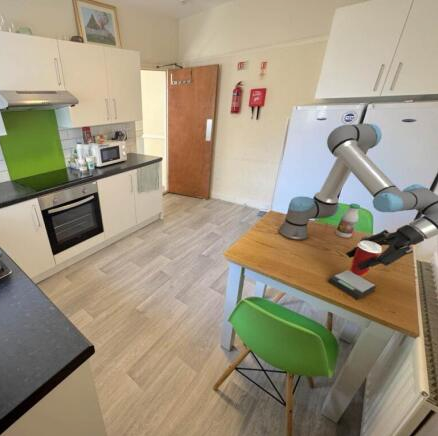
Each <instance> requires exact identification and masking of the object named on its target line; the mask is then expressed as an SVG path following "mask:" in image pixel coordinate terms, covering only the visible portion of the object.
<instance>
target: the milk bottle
mask: <svg viewBox="0 0 438 436" xmlns="http://www.w3.org/2000/svg"><path fill="white" fill-rule="evenodd" d="M360 208H361V205H360V204H358V203H350V204H349V206H348V209H347V211H345V212H344V213H343V214H342V215H341V217H340V221H339V222H338V225H337V228H336V231H335V234H336V235H337V236H339V237H341V238H345V239H346V238H347V239H349V238H351V237H352V235H353V233H354V231H355V229H356V227H357V225H358V221H359V210H360Z"/></svg>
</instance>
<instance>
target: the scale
mask: <svg viewBox="0 0 438 436" xmlns="http://www.w3.org/2000/svg"><path fill="white" fill-rule="evenodd" d="M327 282H328V283H329V284H331V285H332V286H334V287H336V288H337V289H339V290H341V291H342V292H344V293H345V294H347V295H349V296H350V297H352V298H354V299H355V300H359V299H361V298H363V297H366V296H367V295H368V294H370V293H372V292H374V291H375V289H376V288H377V286H376V285H375V284H374V283H372V282H370V281H369V280H366V279H365V278H363V277H362V276H359V275H356V274H354V273H352V272H351V271H350V270H348V269H345V270H343V271H341V272H339V273H337V274H335V275H333V276H331V277H329V279H328V281H327Z"/></svg>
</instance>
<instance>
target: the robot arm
mask: <svg viewBox="0 0 438 436" xmlns="http://www.w3.org/2000/svg"><path fill="white" fill-rule="evenodd" d="M382 135H383V134H382V131H381V127H379V126H378V125H377V124H374V123H365V122H363V123H356V124H343V125H340V126H337V127H336V128H334V129H333V130H332V131H331V132H330V133H329V135H328V137H327V140H326V146H327V148H328V150H329V152H330V153H331V154H332V155H333V157H334V158H336V159H335V161H334V163H333V165H332V167H331V169H330V170H329V173H328V175H327V177H326V179H325V180H324V182H323V185H322V187H321V188H320V190H319V191H318V192H316V193H314V196H313V198H312V197H309V196H301V195H299V196H296V197H293V198H292V199H291V200H290V202H289V204H288V208H287V212H286V217H285V220H284V221H283V223H282V224H281V225H280V227H279V229H278V233H279V234H280V235H281V236H282V237H284V238H286V239H288V240H292V241H305V240H307V239H308V236H309V232H308V223H309V221H310V220H315V219H325V218H326V219H327V218H330V217H334V216H335V215H336V214H337V213H338V212H339V209H340V206H339V205H340V202H339V198H338V196H339V194H340V193H341V191H342V189H343V187H344V185H345V184H346V182H347V181H348V178H349V177H350V175H351V173H352V174H353V176H354V177H356V179H357V180H358V181H359V182H360V183H361V184H362V185H363V187H364V188H365V189H366V190H367V192H368V193H369V194H370V196H372V197H373V199H372V205H373V208H374V209H375V210H376V211H378V212H380V213H397V212H403V211H414V210H416V211H417V212H419V213H420V214H422V215H423V216H420V217H419V218H417V219H415V220H412V221H410V222H409V223H408V224H405V225H402V226H400V227H399V228H397V229H396V231H394V232H390V231H388V230H387V229H384V230H382V231H380V232H379V233H376V234H374V235H370V236H367V238H365V239H363V240H361V239H360V240H359V242H361V241H371V242H374V243H377V244H379V245H380V246H381V247H382V246H388V247H387V248H386V249H385V250H383V251H382V252H381V253H380V254H379V255H378V257H375V258H376V259H375V258H374V257H373V258H371V259H369V260H367V261H365V262H363V263H360V264H358V265H357V266H358V268H359V269H360V270H364V269H366V268H368V267H371V268H373V267H376V266H377V265H379V264H380V265H381V264H382V265H384V266H385V267H387V266H389V265H392V263H394V262H396V261H397V260H400V259H402V258H403V257H405V256H407V255H410V254H412V253H414V251H413V249H412V248H411V246H415V245H417V244H420V243H422V242H424V241H425V240H428V239H431V238H433V237H435V236H438V194H436V193H435V192H433V191H432V190H431V189H429V188H427V187H425V186H424V185H422V184H419V183H417V184H412V185H409V186H407V187H405V188H404V189H403V190H401V189H400V188H399V187H397V186H396V185H395V183H394V182H393V181H392V180H391V179H390V178H389V177H388V176H387V175H386V174H385V172H383V171H382V170H381V169H380V168H379V167H378V166H377V165H376V163H374V162H373V160H372V159H370V157H369V156H368V155H367V153H368V151H369V150H370V149H374V148H375V147H376V146H378V145H379V143H380V142H381V140H382V137H383V136H382ZM354 247H355V248H354ZM354 247H353V248H354V249H351V250H349V251H347V252H345V254H346V256H347V257H348V258H349V259H351V258H354V255H355V253H356V250H357V247H358V245H357V246H354Z"/></svg>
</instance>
